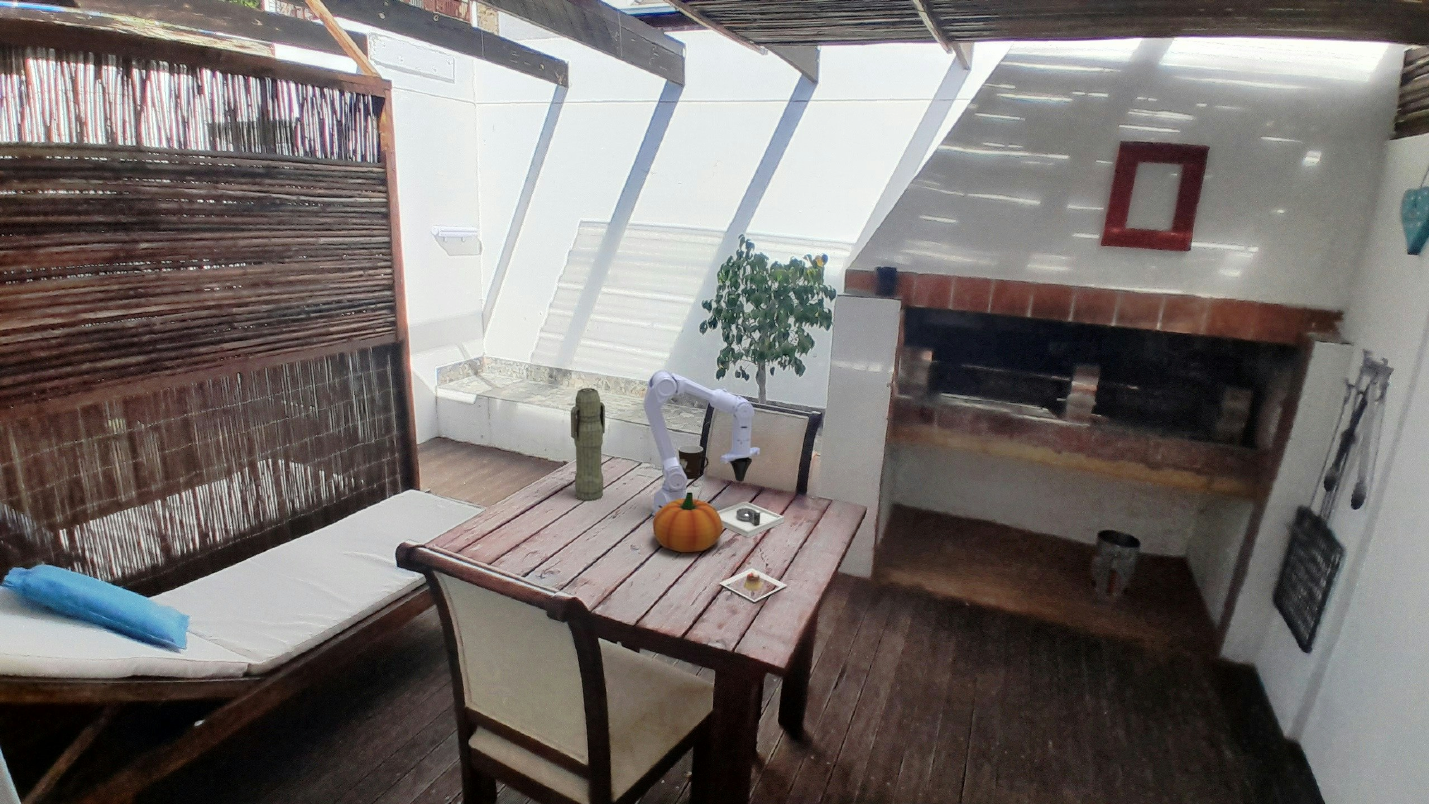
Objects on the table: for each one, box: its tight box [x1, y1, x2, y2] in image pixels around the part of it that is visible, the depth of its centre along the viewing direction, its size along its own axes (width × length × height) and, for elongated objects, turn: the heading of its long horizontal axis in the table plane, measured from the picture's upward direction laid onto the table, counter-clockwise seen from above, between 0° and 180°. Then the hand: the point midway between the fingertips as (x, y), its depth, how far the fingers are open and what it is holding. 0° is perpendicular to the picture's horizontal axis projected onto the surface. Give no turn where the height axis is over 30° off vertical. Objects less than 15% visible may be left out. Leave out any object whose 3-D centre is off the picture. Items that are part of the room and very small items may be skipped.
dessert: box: [719, 567, 788, 603], centre depth 176 cm, size 12×12×5 cm
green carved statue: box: [570, 387, 606, 502], centre depth 226 cm, size 9×12×35 cm
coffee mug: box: [677, 444, 709, 480], centre depth 248 cm, size 12×9×10 cm
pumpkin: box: [652, 492, 724, 553], centre depth 198 cm, size 19×19×15 cm
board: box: [716, 501, 785, 538], centre depth 215 cm, size 16×16×2 cm
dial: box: [736, 508, 760, 525], centre depth 212 cm, size 10×6×3 cm, turn 29°
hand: (739, 480), depth 220 cm, fingers closed
